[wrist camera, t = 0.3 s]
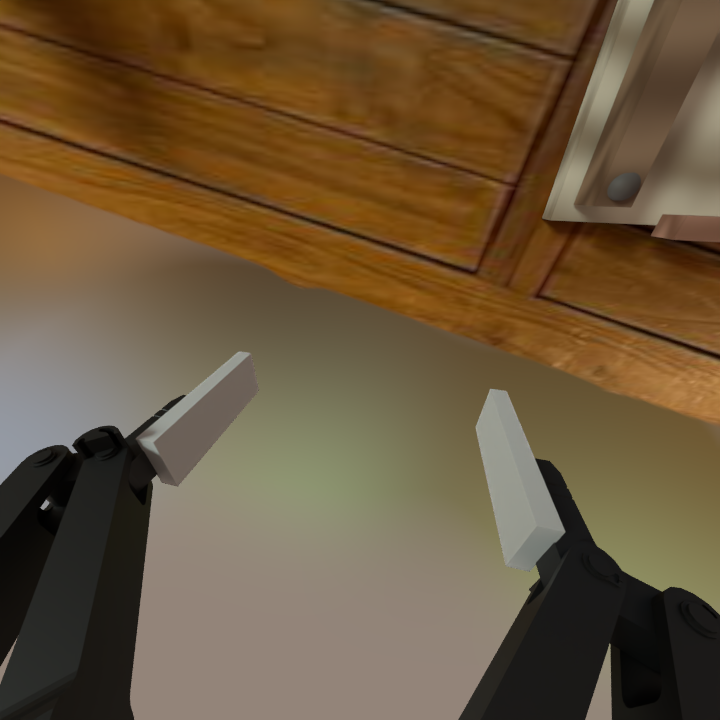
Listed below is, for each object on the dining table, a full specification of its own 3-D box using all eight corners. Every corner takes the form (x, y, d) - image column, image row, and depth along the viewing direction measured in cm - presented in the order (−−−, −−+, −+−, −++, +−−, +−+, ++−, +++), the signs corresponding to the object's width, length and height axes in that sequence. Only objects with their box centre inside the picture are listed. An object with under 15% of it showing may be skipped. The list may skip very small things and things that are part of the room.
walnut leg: (605, 206, 27) (635, 207, 23) (573, 204, 28) (597, 206, 24) (719, -46, 19) (794, -108, 15) (670, -42, 19) (731, -100, 16)
